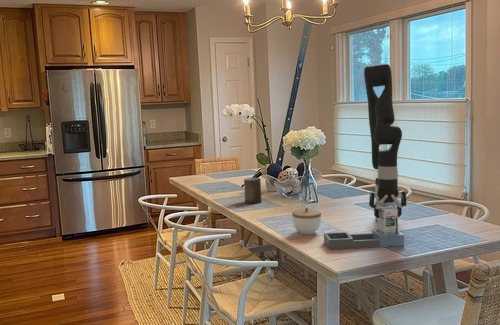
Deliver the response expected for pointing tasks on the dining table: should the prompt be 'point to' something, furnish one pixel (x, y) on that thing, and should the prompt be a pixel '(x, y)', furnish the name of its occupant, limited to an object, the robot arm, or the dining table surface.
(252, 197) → the pillar candle
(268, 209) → the dining table surface
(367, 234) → the frame
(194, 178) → the dining table surface
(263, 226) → the dining table surface
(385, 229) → the syrup box
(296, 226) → the lidded bowl
